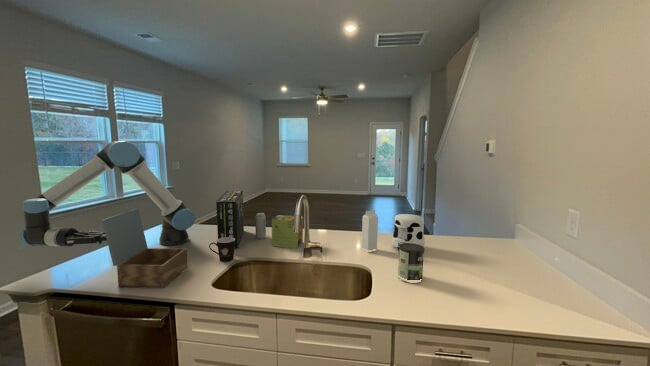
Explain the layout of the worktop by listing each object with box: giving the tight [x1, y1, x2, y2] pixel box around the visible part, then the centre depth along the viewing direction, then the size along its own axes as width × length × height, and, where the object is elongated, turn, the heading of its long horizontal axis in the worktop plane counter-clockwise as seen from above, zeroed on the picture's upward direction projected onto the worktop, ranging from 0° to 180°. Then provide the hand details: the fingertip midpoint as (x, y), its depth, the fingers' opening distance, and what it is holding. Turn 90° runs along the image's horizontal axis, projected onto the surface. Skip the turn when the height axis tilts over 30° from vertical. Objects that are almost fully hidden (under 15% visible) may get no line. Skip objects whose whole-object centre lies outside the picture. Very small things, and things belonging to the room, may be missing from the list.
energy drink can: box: [254, 212, 267, 240], centre depth 181 cm, size 6×6×15 cm
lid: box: [101, 208, 149, 267], centre depth 125 cm, size 18×20×1 cm
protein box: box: [271, 214, 304, 249], centre depth 170 cm, size 10×15×16 cm
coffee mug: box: [208, 237, 235, 263], centre depth 147 cm, size 12×9×10 cm
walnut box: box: [116, 247, 189, 289], centre depth 127 cm, size 18×20×9 cm
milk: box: [361, 210, 379, 250], centre depth 161 cm, size 6×6×22 cm
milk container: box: [391, 213, 426, 250], centre depth 165 cm, size 17×17×18 cm
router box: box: [215, 190, 245, 250], centre depth 177 cm, size 36×11×27 cm, turn 10°
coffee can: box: [397, 243, 425, 280], centre depth 128 cm, size 10×10×14 cm
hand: (119, 237), depth 124 cm, fingers closed
